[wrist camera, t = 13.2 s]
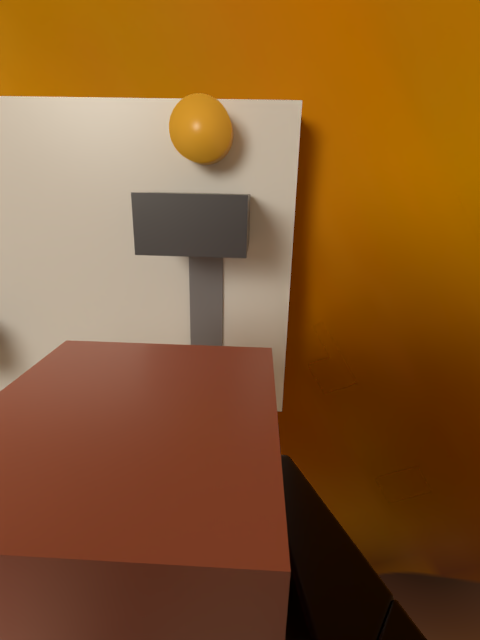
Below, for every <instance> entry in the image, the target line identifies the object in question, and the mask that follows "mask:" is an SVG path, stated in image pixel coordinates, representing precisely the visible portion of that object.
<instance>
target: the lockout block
mask: <svg viewBox="0 0 480 640" xmlns="http://www.w3.org/2000/svg"><path fill="white" fill-rule="evenodd" d="M290 575H291V569H290V557H289V545H288V534H287V522H286V510H285V498H284V486H283V474H282V463H281V451H280V439H279V427H278V415H277V403H276V392H275V380H274V368H273V356H272V348H263V347H235V346H208V345H181V344H153V343H126V342H98V341H71V340H66V341H65V342H64V343H62V344H61V345H60V346H58V347H57V348H56V349H54V350H53V351H52V352H51V353H49V354H48V355H47V356H45V357H44V358H43V359H41V360H40V361H39V362H38V363H36V364H35V365H34V366H32V367H31V368H30V369H29V370H27V371H26V372H25V373H23V374H22V375H21V376H19V377H18V378H17V379H16V380H14V381H13V382H12V383H10V384H9V385H8V386H6V387H5V388H4V389H3V390H1V391H0V640H285V634H286V622H287V610H288V598H289V586H290Z"/></svg>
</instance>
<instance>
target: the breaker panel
mask: <svg viewBox="0 0 480 640" xmlns="http://www.w3.org/2000/svg"><path fill="white" fill-rule="evenodd" d="M301 111H302V100H245V99H216V98H214V97H212V96H210V95H207V94H202V93H196V94H191V95H188V96H186V97H184V98H183V99H171V98H97V97H22V96H0V391H1V390H3V389H4V388H5V387H6V386H8V385H9V384H10V383H12V382H13V381H14V380H16V379H17V378H18V377H19V376H21V375H22V374H23V373H25V372H26V371H27V370H29V369H30V368H31V367H32V366H34V365H35V364H36V363H38V362H39V361H40V360H41V359H43V358H44V357H45V356H47V355H48V354H49V353H51V352H52V351H53V350H54V349H56V348H57V347H58V346H60V345H61V344H62V343H64V342H65V341H66V340H71V341H98V342H126V343H153V344H181V345H208V346H235V347H263V348H272V356H273V368H274V380H275V392H276V403H277V411H281V412H282V403H283V388H284V372H285V357H286V342H287V326H288V311H289V296H290V280H291V265H292V249H293V234H294V219H295V203H296V188H297V173H298V157H299V142H300V127H301ZM131 192H177V193H221V194H251V196H250V231H249V247H248V252H247V257H246V258H218V257H184V256H150V255H135V247H134V232H133V217H132V202H131Z"/></svg>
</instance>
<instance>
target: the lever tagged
mask: <svg viewBox="0 0 480 640" xmlns="http://www.w3.org/2000/svg"><path fill="white" fill-rule="evenodd" d="M250 196H251V194H221V193H177V192H131V202H132V217H133V232H134V247H135V255H150V256H184V257H218V258H246V257H247V252H248V247H249V231H250Z"/></svg>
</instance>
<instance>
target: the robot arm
mask: <svg viewBox="0 0 480 640" xmlns="http://www.w3.org/2000/svg"><path fill="white" fill-rule="evenodd" d="M281 463H282V474H283V486H284V498H285V510H286V522H287V534H288V545H289V557H290V569H291V575H290V586H289V598H288V610H287V622H286V634H285V640H427V639H426V638H425V637H424V635H423V634H422V633H421V631H420V630H419V629H418V628H417V626H416V625H415V624H414V622H413V621H412V620H411V618H410V617H409V616H408V615H407V613H406V612H405V611H404V609H403V608H402V606H401V605H400V604H399V602H398V601H397V600H393V595H392V593H391V592H390V591H389V589H388V588H387V587H386V585H385V584H384V583H383V581H382V580H381V579H380V577H379V576H378V574H377V573H376V572H375V570H374V569H373V568H372V566H371V565H370V564H369V562H368V561H367V560H366V558H365V557H364V556H363V554H362V553H361V552H360V550H359V549H358V548H357V546H356V545H355V544H354V542H353V541H352V540H351V538H350V537H349V536H348V534H347V533H346V532H345V530H344V529H343V528H342V526H341V525H340V524H339V522H338V521H337V520H336V518H335V517H334V516H333V514H332V513H331V512H330V510H329V509H328V508H327V506H326V505H325V503H324V502H323V501H322V499H321V498H320V497H319V495H318V494H317V493H316V491H315V490H314V489H313V487H312V486H311V485H310V483H309V482H308V481H307V479H306V478H305V477H304V475H303V474H302V473H301V471H300V470H299V469H298V467H297V466H296V465H295V463H294V462H293V461H292V459H291V458H290V457H289V456H288V455H281Z"/></svg>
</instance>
